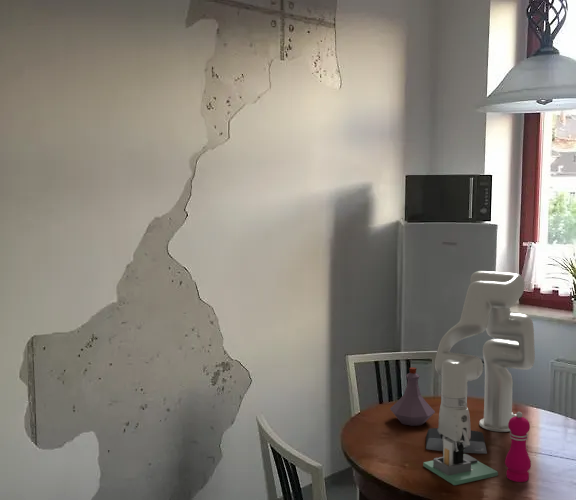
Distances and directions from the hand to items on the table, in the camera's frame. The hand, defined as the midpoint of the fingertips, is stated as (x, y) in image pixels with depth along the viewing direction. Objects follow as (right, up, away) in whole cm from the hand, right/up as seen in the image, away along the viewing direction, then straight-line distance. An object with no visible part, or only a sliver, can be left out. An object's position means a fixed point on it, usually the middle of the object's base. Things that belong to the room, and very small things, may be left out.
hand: (452, 459), depth 203 cm
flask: (-4, 0, +45) cm, 45 cm away
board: (+2, -4, +1) cm, 5 cm away
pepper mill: (+18, -4, -4) cm, 19 cm away
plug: (0, -2, 0) cm, 2 cm away
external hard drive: (+6, -3, +22) cm, 23 cm away
